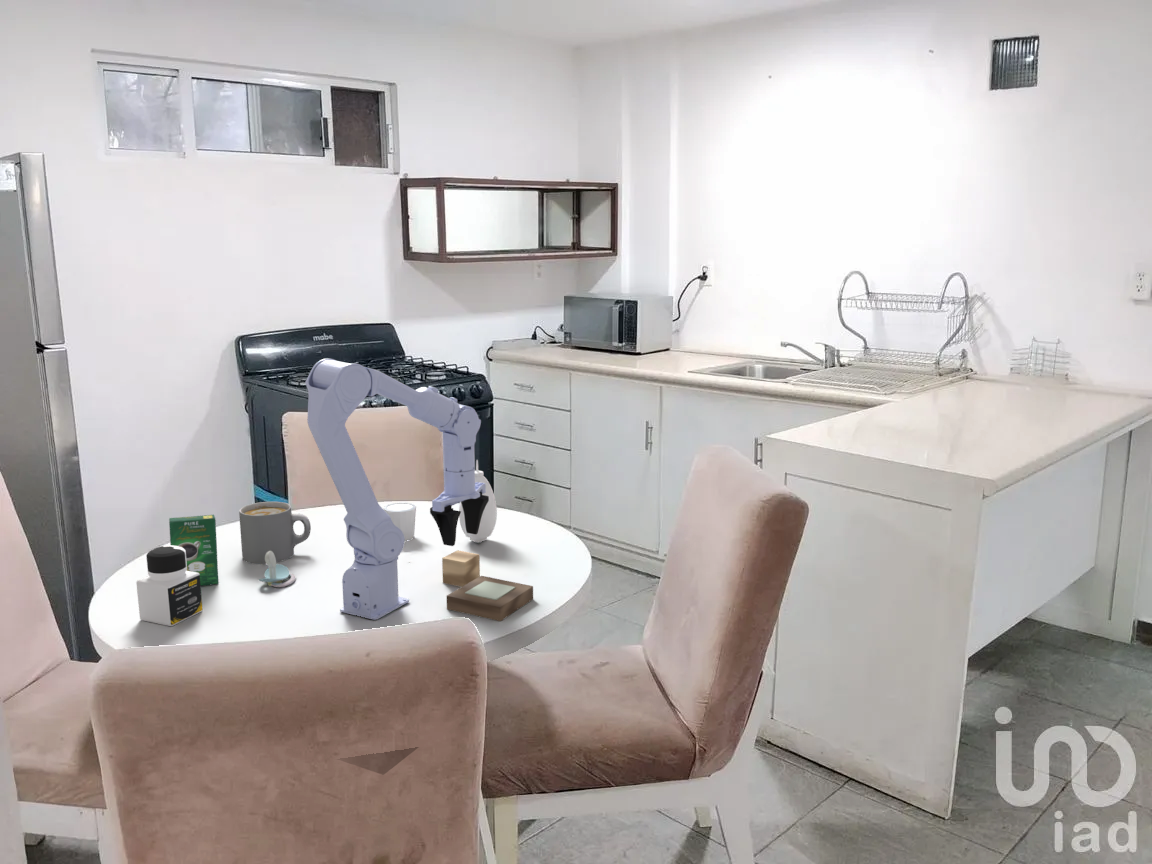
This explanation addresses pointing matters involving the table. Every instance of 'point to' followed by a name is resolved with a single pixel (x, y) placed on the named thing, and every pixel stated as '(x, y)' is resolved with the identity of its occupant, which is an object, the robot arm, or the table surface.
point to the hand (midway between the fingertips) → (460, 538)
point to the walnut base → (490, 598)
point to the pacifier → (276, 572)
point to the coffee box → (197, 545)
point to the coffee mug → (270, 531)
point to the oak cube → (460, 568)
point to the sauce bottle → (488, 514)
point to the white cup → (403, 517)
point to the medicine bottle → (168, 588)
